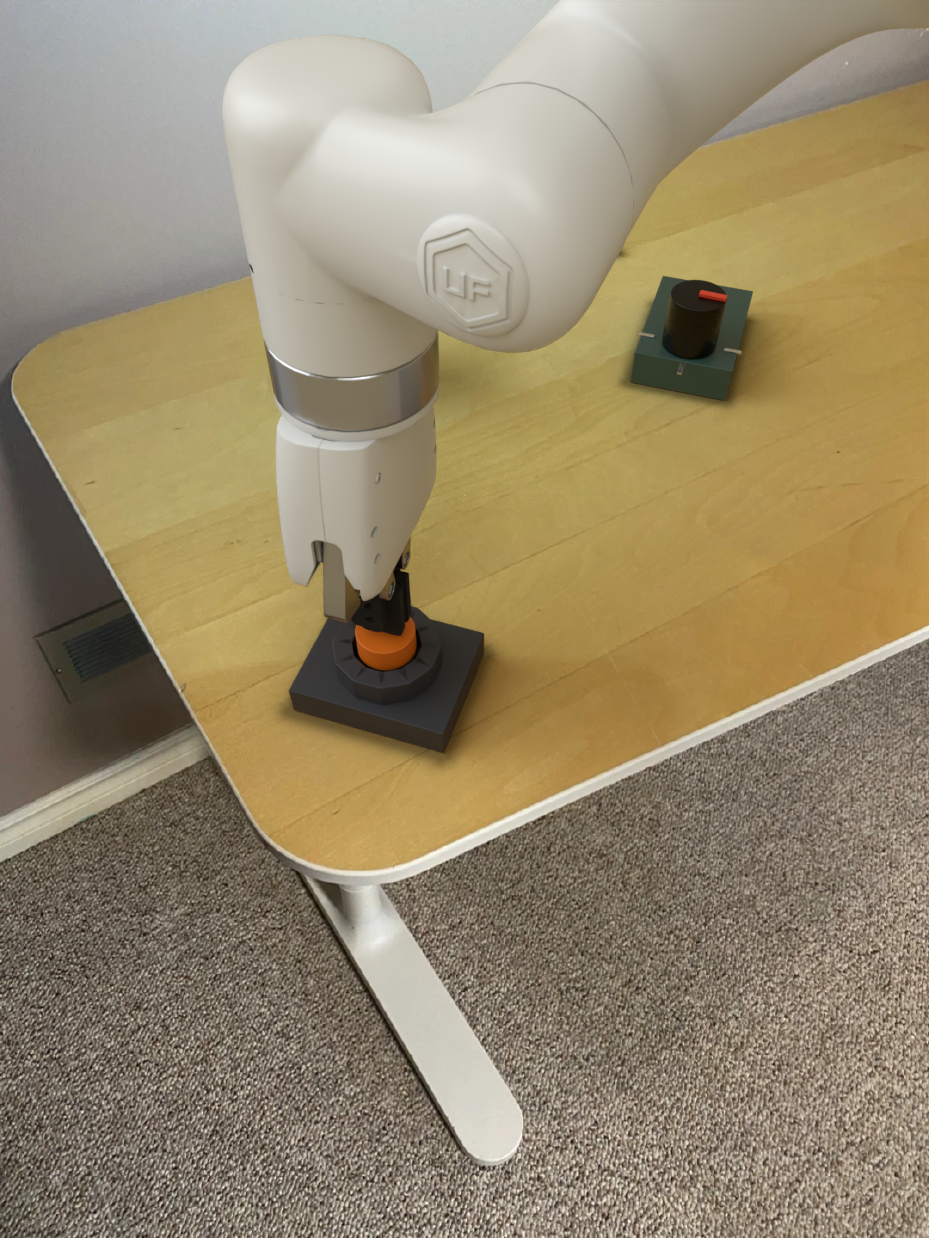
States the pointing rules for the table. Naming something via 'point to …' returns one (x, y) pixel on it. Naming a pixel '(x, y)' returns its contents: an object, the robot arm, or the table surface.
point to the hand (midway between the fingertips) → (381, 620)
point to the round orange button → (386, 647)
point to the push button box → (391, 682)
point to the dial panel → (690, 374)
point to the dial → (694, 319)
